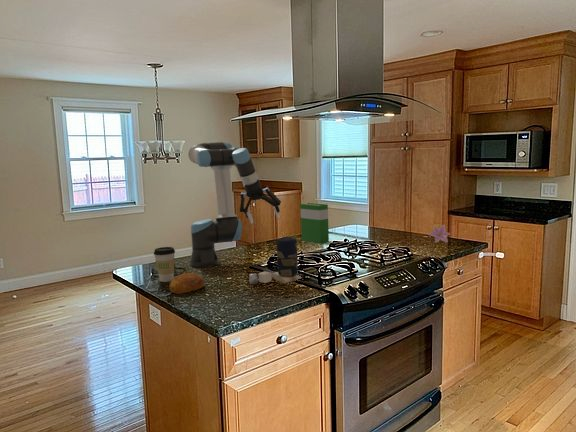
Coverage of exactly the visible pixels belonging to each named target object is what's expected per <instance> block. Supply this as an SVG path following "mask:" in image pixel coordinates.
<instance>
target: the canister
mask: <svg viewBox="0 0 576 432" xmlns="http://www.w3.org/2000/svg"><path fill="white" fill-rule="evenodd" d="M275 245H276V246H275V247H276V261H277V263H276V264H277V272H278V274H279V275H282V276H293V275H296V274H297V273H298V271H299V264H298V263H299V262H298V260H299V259H298V243H297V238H295V237H291V236H283V237H279V238H278V239H276V244H275Z"/></svg>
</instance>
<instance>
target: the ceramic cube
mask: <svg viewBox="0 0 576 432" xmlns="http://www.w3.org/2000/svg"><path fill="white" fill-rule="evenodd" d="M271 273H272V272H270V271H262V272H261V271H260V272H258V282H260V283H262V284H263V283H264V284H267V283H270V282H272V280H273V279H272V278H271Z"/></svg>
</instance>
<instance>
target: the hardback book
mask: <svg viewBox="0 0 576 432" xmlns="http://www.w3.org/2000/svg"><path fill="white" fill-rule="evenodd" d="M299 210H300V228H301V230H300V232H301V237H300V238H301V241H302V242H309V243H313V244H314V243H315V244H320V245H321V244H325V243H329V242H330V237H329V236H330V235H329V204H326V203H313V202H312V203H311V202H307V204H306V203H300V207H299Z"/></svg>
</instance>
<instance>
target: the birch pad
mask: <svg viewBox="0 0 576 432" xmlns="http://www.w3.org/2000/svg"><path fill="white" fill-rule="evenodd" d="M301 278H302V277H301V276H299V275H297V274H296V275H293V276H282V275H279V274H278V271H276V272H275V271H274V272H271V280H274V281H276V282H278V283H281V284H286V283H293V282H296V280H297V281H299V280H298V279H301Z"/></svg>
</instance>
